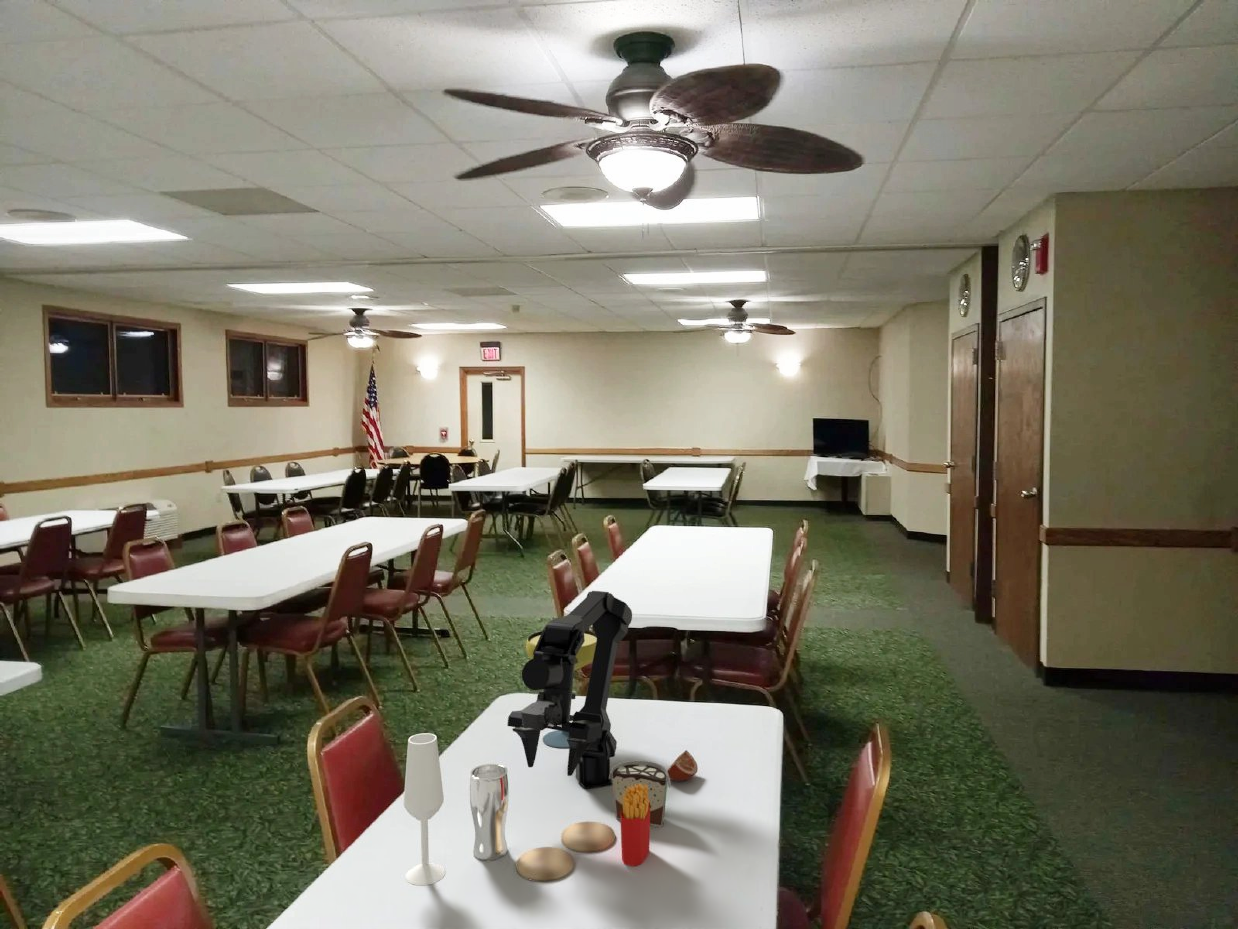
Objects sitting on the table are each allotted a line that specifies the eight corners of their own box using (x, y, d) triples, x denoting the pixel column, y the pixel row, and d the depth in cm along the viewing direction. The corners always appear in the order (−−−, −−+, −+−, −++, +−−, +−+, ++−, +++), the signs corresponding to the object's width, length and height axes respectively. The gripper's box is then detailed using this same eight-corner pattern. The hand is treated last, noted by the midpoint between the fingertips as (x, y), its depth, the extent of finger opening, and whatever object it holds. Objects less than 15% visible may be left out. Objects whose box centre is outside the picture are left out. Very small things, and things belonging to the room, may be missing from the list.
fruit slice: (673, 768, 185) (673, 746, 184) (702, 773, 182) (702, 751, 182) (660, 784, 177) (660, 761, 177) (690, 790, 174) (690, 766, 174)
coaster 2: (603, 820, 161) (603, 817, 161) (622, 845, 152) (622, 842, 152) (554, 830, 158) (554, 827, 158) (570, 856, 148) (570, 853, 148)
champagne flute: (408, 889, 139) (405, 749, 137) (402, 869, 145) (399, 734, 143) (449, 879, 141) (446, 742, 140) (441, 860, 147) (438, 728, 146)
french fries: (637, 870, 144) (637, 803, 143) (616, 865, 145) (616, 799, 145) (654, 846, 152) (654, 782, 151) (634, 842, 153) (634, 779, 152)
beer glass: (502, 864, 146) (500, 781, 145) (465, 860, 147) (463, 778, 146) (514, 844, 153) (513, 764, 152) (479, 840, 154) (477, 761, 153)
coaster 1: (564, 846, 152) (563, 842, 152) (581, 874, 143) (581, 871, 143) (510, 856, 148) (510, 853, 148) (524, 886, 139) (524, 883, 139)
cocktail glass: (560, 719, 214) (559, 624, 212) (616, 735, 203) (616, 635, 202) (511, 743, 199) (510, 640, 197) (570, 761, 189) (569, 653, 187)
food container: (678, 813, 164) (678, 764, 163) (669, 828, 158) (669, 777, 158) (619, 804, 168) (618, 756, 167) (609, 818, 162) (608, 768, 162)
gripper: (494, 683, 159) (484, 768, 156) (574, 695, 150) (566, 786, 147) (528, 681, 168) (520, 761, 166) (606, 693, 159) (599, 778, 156)
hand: (549, 771), depth 158 cm, fingers open, 9 cm apart
